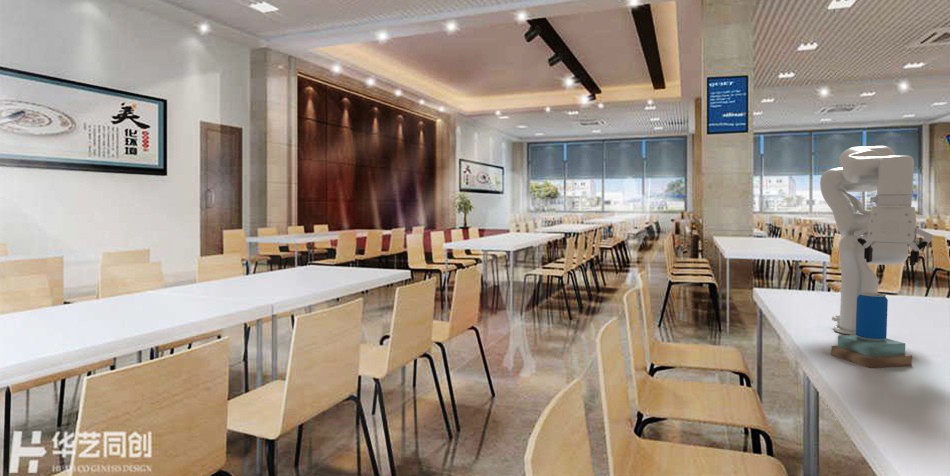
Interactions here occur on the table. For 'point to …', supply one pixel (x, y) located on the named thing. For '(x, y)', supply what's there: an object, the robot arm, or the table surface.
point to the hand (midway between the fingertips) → (890, 263)
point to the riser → (871, 352)
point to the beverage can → (871, 316)
